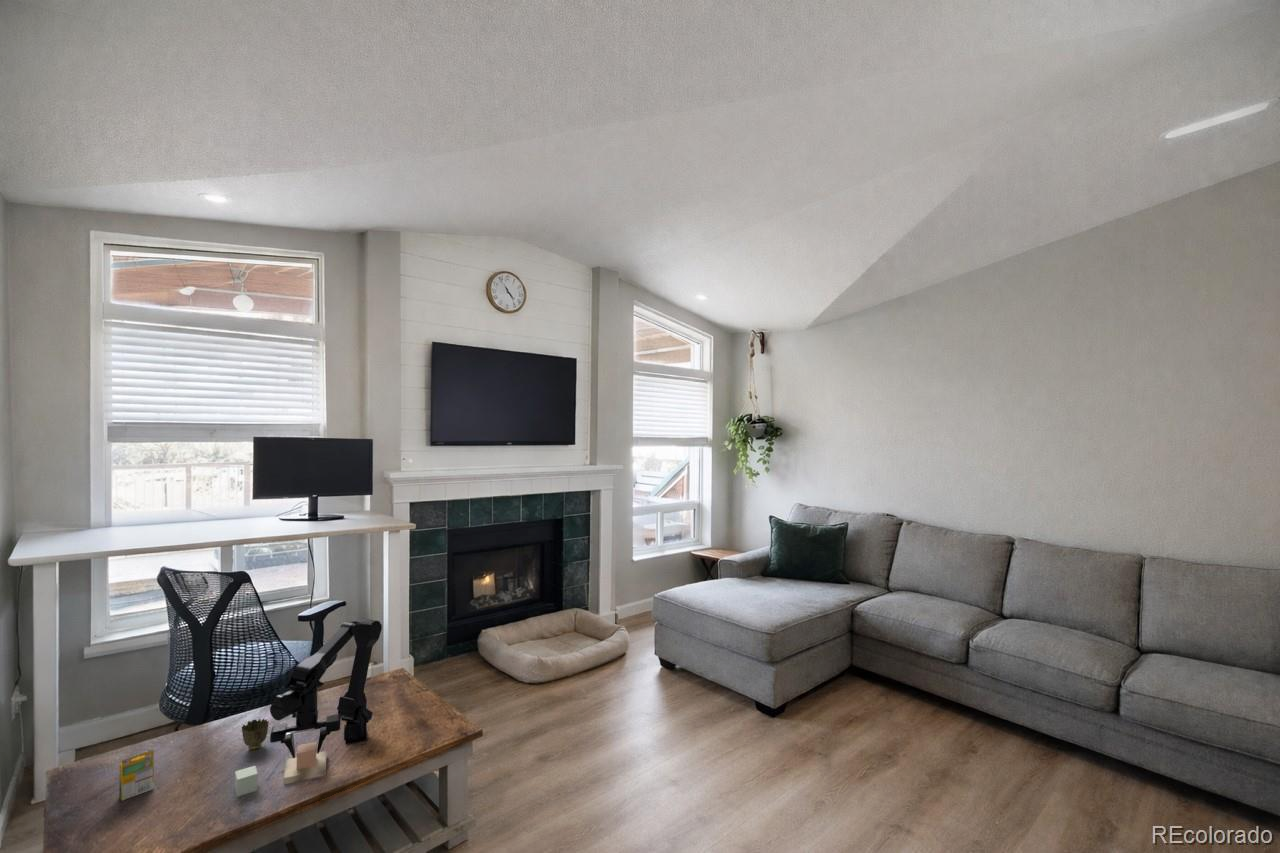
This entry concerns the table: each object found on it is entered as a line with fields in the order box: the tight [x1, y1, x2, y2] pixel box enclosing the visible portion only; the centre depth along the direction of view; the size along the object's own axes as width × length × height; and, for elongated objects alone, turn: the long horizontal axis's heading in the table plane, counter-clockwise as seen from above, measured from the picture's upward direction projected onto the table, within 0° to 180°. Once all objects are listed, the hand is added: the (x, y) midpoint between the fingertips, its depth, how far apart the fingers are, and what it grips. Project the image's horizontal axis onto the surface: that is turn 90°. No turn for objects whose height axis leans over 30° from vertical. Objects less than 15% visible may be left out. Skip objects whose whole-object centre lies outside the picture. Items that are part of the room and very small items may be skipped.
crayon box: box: [118, 749, 155, 802], centre depth 172 cm, size 7×3×12 cm, turn 141°
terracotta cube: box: [296, 741, 318, 770], centre depth 185 cm, size 5×5×5 cm
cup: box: [241, 718, 270, 751], centre depth 196 cm, size 8×7×8 cm
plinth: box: [283, 750, 328, 785], centre depth 185 cm, size 11×11×2 cm
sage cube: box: [234, 765, 259, 797], centre depth 175 cm, size 5×5×5 cm
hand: (306, 755), depth 185 cm, fingers open, 6 cm apart
